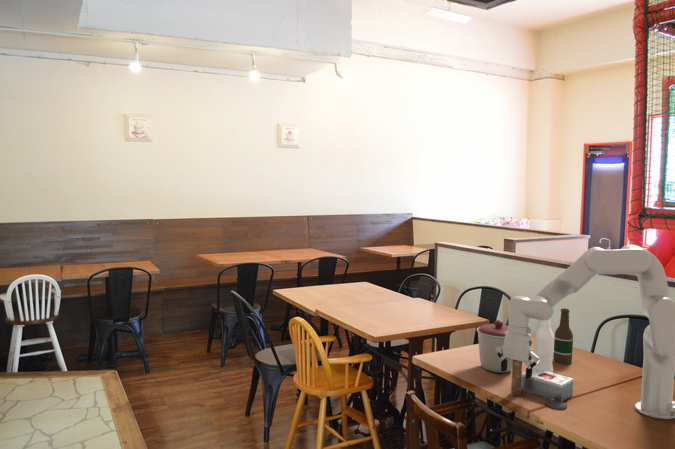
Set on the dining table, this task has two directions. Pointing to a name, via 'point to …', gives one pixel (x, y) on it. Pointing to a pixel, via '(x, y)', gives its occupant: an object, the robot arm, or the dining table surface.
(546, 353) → the water bottle
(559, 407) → the coaster
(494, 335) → the canister
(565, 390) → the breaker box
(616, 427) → the dining table surface
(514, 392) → the brown wooden block
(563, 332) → the beer bottle
